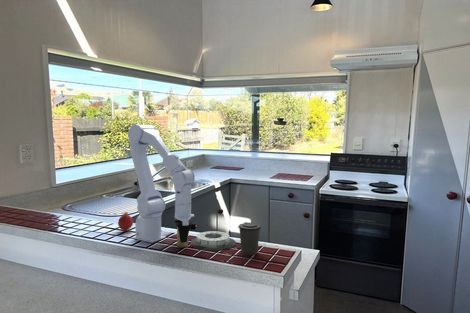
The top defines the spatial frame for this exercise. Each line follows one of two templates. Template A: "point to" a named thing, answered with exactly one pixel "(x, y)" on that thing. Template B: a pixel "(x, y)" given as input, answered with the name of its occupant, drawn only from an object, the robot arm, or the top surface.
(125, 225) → the onion
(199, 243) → the rosette
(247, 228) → the coffee cup
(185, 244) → the peg
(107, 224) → the top surface
